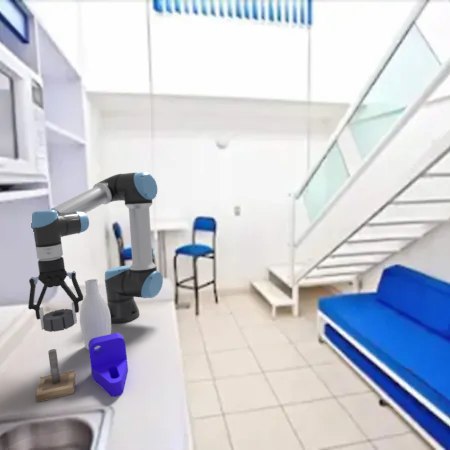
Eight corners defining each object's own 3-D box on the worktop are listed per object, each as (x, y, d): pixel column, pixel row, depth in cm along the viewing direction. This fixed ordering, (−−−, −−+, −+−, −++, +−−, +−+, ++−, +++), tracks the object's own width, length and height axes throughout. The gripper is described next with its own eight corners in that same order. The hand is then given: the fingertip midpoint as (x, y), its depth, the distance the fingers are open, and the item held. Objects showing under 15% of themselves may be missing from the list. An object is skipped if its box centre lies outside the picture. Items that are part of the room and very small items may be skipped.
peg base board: (41, 383, 118) (36, 346, 116) (75, 375, 121) (71, 340, 119) (36, 402, 107) (31, 362, 106) (73, 393, 111) (69, 354, 109)
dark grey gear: (46, 323, 126) (44, 312, 125) (75, 318, 129) (73, 307, 128) (43, 333, 118) (41, 321, 117) (73, 327, 121) (72, 316, 120)
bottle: (93, 338, 149) (86, 276, 146) (118, 339, 147) (112, 276, 144) (76, 351, 138) (68, 285, 135) (104, 352, 136) (96, 285, 133)
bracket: (91, 373, 122) (87, 339, 120) (125, 364, 126) (122, 331, 125) (97, 402, 106) (93, 362, 104) (136, 390, 110) (132, 352, 109)
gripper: (10, 265, 113) (20, 336, 116) (86, 255, 120) (94, 322, 123) (14, 260, 120) (24, 327, 123) (86, 251, 127) (94, 314, 130)
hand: (59, 324), depth 123 cm, fingers closed on dark grey gear, 9 cm apart
